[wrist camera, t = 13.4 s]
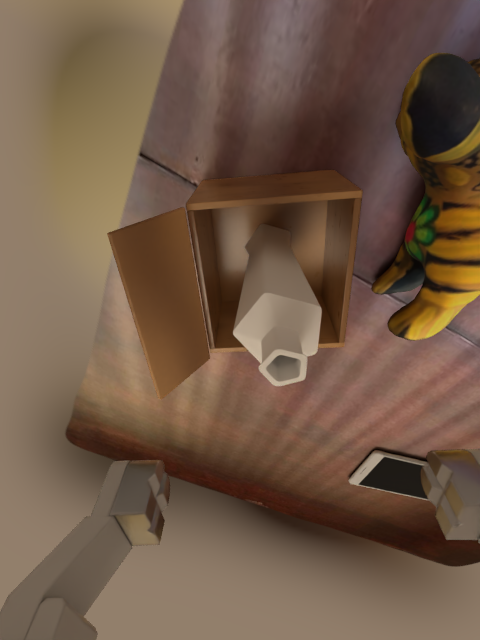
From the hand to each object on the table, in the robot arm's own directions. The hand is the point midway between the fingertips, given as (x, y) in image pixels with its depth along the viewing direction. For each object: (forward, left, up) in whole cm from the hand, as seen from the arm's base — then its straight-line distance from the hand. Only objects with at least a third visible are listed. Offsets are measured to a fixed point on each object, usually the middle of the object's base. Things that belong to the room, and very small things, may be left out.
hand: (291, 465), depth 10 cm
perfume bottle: (0, 0, -20) cm, 20 cm away
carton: (0, 0, -20) cm, 20 cm away
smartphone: (+18, -34, -20) cm, 44 cm away
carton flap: (-6, 0, -10) cm, 12 cm away
